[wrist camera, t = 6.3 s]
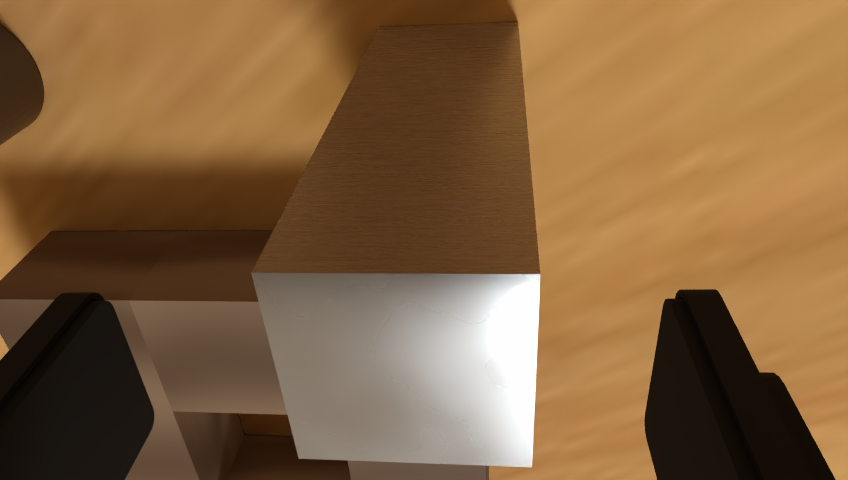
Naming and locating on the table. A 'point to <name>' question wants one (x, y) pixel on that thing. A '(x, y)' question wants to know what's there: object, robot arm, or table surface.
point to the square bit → (413, 260)
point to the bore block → (189, 350)
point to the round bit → (17, 87)
